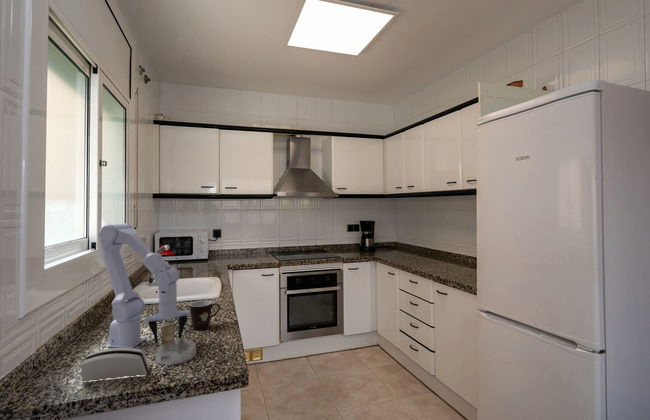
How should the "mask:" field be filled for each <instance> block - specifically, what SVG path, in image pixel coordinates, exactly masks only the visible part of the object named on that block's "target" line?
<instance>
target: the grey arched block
mask: <svg viewBox="0 0 650 420" xmlns="http://www.w3.org/2000/svg"><path fill="white" fill-rule="evenodd" d="M146 357H147V356H146V355H145V352H144V350H143V349H139V348H134V347H133V348H119V347H110V348H105V349H102V350H97V351H94V352H91V353H88V355H87V356H86V357H85V358H84V360H83V361H82V363H81V366H80V367H81V382H82V381H90V380H99V379H106V378H116V377H124V376H136V375H145V374H146V373H147V374H148V372H147V371H149V370H150V369H151V367H150V363H148V360H147V358H146ZM149 368H150V369H149Z"/></svg>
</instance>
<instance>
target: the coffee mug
mask: <svg viewBox="0 0 650 420" xmlns="http://www.w3.org/2000/svg"><path fill="white" fill-rule="evenodd" d="M214 306H217V307H218V308H217V310H216V312H215V313H213V314H212V308H213V307H214ZM189 309H190V310H189V311H190V317H191V325H192V330H193V331H197V332H198V331H200V332H202V331H205V330H208V329H209V328H210V324H211V319H212V318H213V317H215V316H216V315H217V314H218V313H219V311H220V309H221V306H220V304H219V303H216V302H215V303H213V302H212V300H197V301H193V302H191V303H189ZM211 315H212V316H211Z"/></svg>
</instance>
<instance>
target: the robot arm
mask: <svg viewBox="0 0 650 420" xmlns="http://www.w3.org/2000/svg"><path fill="white" fill-rule="evenodd" d="M97 236H98V239H99V241H100V243H99V245H100V248H99V250H100V254H101V257H102V260H103V262H104V266H105V268H106V272H107V274H108V278H109V280H110V283H111V286H112V289H113V292H114V295H115V297H114V298H113V300H112V302H111V307H112V312H111V313H112V318H113V320H112V322H111V323H110V326H109V329H108V330H109V332H108V333H109V339H108V340H109V344H108V345H107V347H108V348H134V347H136V346H138V345H140V344H142V343H143V342H144V341H146V340H147V337H142V334H141V333H142V330H141V328H142V327H141V325H142V324H141V323H142V321H141V318H142V313H143V312H144V311H145V308H146V304H145V302H144V300H143V299H142V298H141V296H140V293H138V292H137V291H135V290H133V287H132V284H131V282H130V278H129V275H128V272H127V269H126V267H125V264H124V260H123V259H122V258H123V257H122V255H121V252H120V250H121V249H122V247H123V246H124V245H127V246H129V247H130V248H131V249H132V250H133V251H134V252H135V253H136V254H137V255H139V256H140V257H141V258H142V259H143V260H142V264H143V266H145V267H146V268H147V270H148V271H149V272H150V273H151V274H152V275H153V276H154V277H155V278H154V281H155V284H156V285H157V287H158V288H157V289H158V308H159V309H158V311H159V313H158V314H154V315H149V316H145V317H144V324H145V325H148V326H149V328H150V330H151V332H152V335H153V337H154V343H155V344H158V342H159V341H158V323H157V322H162V321H163V322H164V321H168V320H174V319H177V321H178V323H177V324H178V331H177V332H178V333H177V334H178V336H177V337H178V339H182V336H183V331H184V330H185V329H184V328H185V326H186V324H187V322H188V318H189V317H191V311H190V310H189V309H188V310H178V309H177V306H178V304H177V302H178V301H177V296H178V295H177V292H178V291H177V290H178V289H177V284H178V283H177V282H178V280H179V279H180V274H181V273H180V272H179V270H178V268H177V267H174V266H171V265H170V264H168V263H167V262H166V260H165V259H163V256H162V254H161V253H157V252H152V251H151V250H150V248H149V247H148V246H147V245H146V244H145V242H144V241H143V240H142V239H141V237H139V235H138V233H137V230H136V229H135V228H134V227H133V226H132V225H131V224H130V223H128V222H124V223H107V224H104V225H102V227H101V228H100V230H99V232H98V233H97Z"/></svg>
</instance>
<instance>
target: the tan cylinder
mask: <svg viewBox="0 0 650 420" xmlns="http://www.w3.org/2000/svg"><path fill="white" fill-rule="evenodd" d="M172 341H175V324H174V323H166V324H163V325H162V326H161V345H163V344H166V343H169V342H172Z"/></svg>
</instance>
